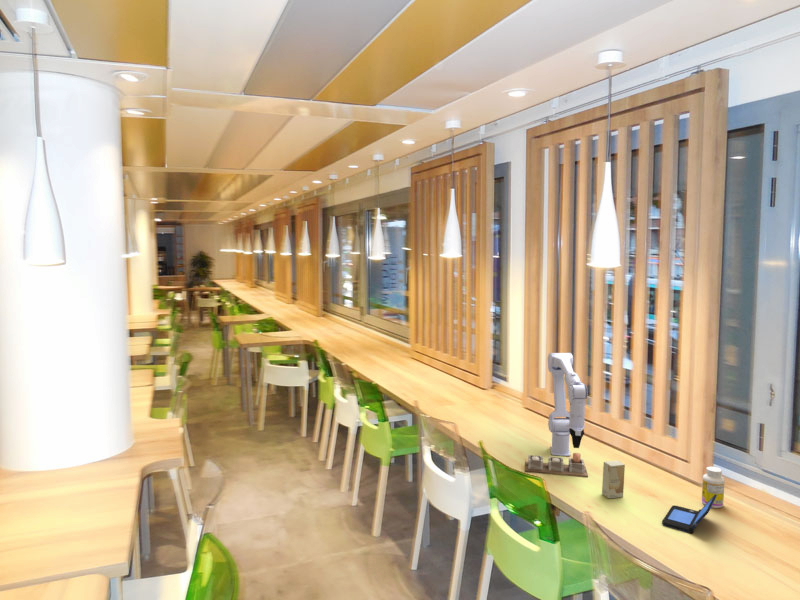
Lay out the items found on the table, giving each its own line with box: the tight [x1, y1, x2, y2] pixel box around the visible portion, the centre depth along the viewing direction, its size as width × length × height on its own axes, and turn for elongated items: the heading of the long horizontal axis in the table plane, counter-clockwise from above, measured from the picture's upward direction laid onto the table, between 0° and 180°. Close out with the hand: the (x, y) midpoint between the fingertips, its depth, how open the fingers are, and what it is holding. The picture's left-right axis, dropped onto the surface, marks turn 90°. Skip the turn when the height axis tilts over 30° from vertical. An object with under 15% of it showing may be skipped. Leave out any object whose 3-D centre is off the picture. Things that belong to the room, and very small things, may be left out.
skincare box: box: [601, 460, 626, 499], centre depth 202 cm, size 6×4×12 cm
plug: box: [532, 455, 539, 460], centre depth 228 cm, size 3×3×3 cm
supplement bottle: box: [701, 466, 725, 509], centre depth 195 cm, size 7×7×13 cm
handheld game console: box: [661, 494, 717, 535], centre depth 182 cm, size 16×13×9 cm
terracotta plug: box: [572, 452, 582, 463], centre depth 224 cm, size 3×3×3 cm
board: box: [524, 454, 589, 478], centre depth 226 cm, size 10×24×4 cm, turn 78°
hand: (576, 447), depth 224 cm, fingers closed
